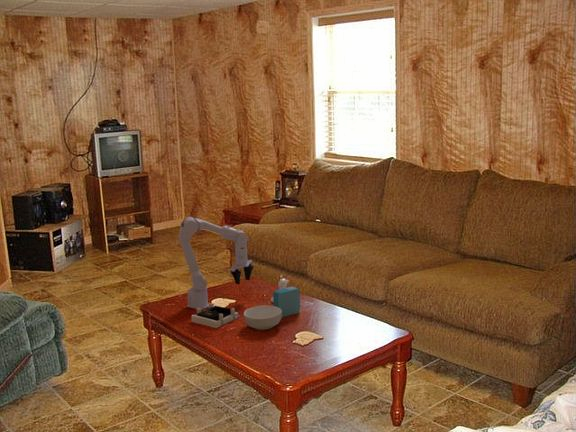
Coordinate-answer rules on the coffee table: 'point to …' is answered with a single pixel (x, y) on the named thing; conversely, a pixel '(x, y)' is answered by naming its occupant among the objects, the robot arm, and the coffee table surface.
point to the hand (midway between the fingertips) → (242, 281)
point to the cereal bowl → (263, 317)
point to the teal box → (287, 300)
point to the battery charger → (215, 312)
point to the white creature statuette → (281, 285)
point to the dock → (213, 322)
